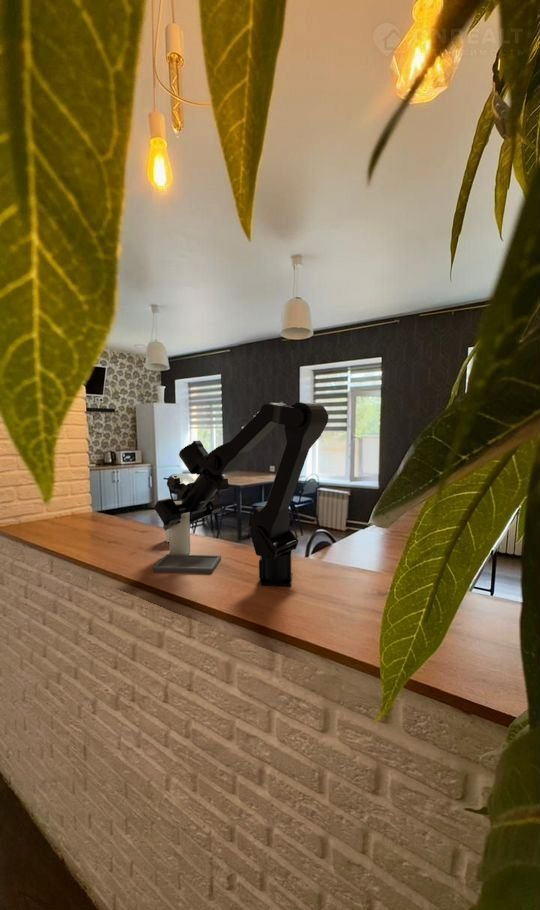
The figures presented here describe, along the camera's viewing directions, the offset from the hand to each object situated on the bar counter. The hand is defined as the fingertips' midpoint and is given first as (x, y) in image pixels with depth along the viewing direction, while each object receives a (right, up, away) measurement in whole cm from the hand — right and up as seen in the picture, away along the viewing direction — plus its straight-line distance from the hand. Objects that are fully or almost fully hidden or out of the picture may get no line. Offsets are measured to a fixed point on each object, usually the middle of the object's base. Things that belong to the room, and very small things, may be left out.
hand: (175, 525), depth 106 cm
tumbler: (+1, -7, 0) cm, 7 cm away
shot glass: (-3, -6, +12) cm, 14 cm away
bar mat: (+5, -8, -10) cm, 14 cm away
